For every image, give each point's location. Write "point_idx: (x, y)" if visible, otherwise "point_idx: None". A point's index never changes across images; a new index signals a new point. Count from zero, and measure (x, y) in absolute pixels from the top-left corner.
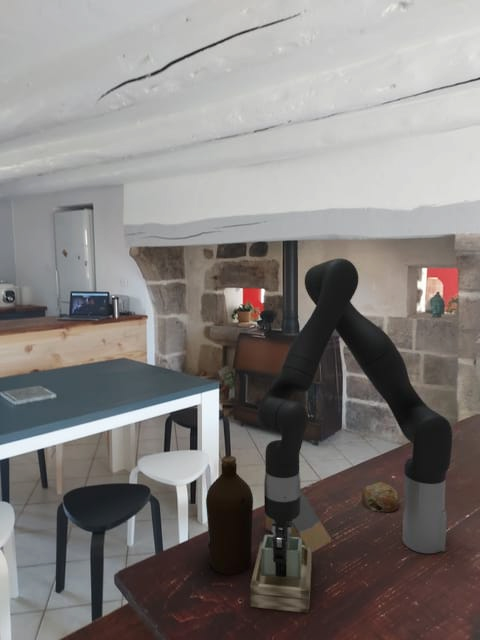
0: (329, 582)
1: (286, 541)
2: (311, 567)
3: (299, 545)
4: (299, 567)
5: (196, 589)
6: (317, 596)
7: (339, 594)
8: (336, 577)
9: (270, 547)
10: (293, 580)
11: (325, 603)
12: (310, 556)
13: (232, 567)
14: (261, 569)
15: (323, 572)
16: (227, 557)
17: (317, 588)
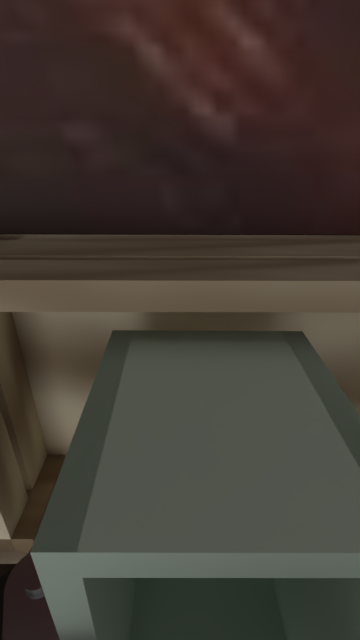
0: (134, 100)
1: (109, 602)
2: (14, 235)
3: (259, 566)
4: (338, 395)
5: None
6: (285, 188)
7: (260, 11)
8: (61, 35)
9: (132, 592)
10: None
11: (352, 132)
12: (57, 286)
13: None
14: None
15: (33, 149)
16: None
17: (209, 189)
